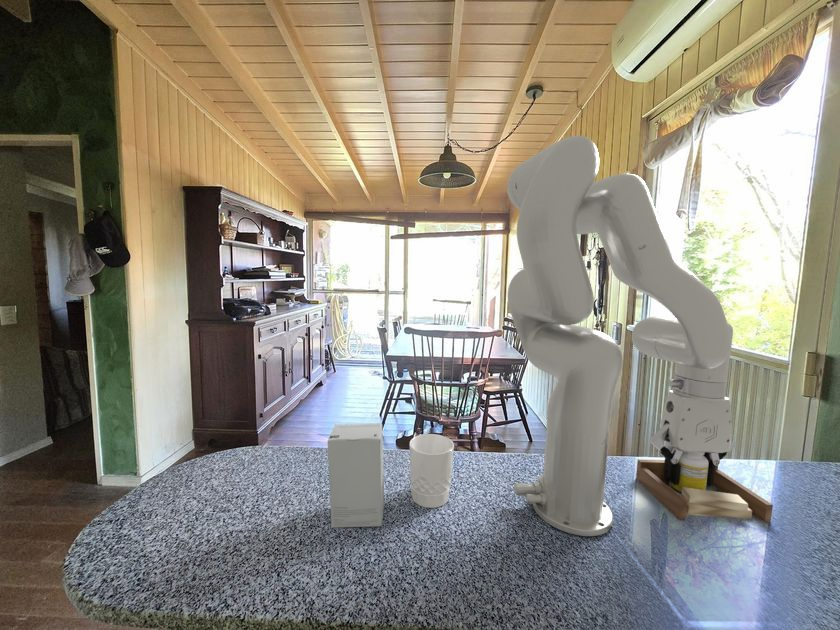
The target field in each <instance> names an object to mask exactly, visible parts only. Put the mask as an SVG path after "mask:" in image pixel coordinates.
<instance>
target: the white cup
mask: <svg viewBox="0 0 840 630" xmlns="http://www.w3.org/2000/svg"><path fill="white" fill-rule="evenodd" d="M408 445H409V446H408V447H409V471H410V478H409V479H410V490H411V492H410V493H411V498H412V500H413V502H414V503H416V505H418V506H420V507H423V508H426V509H428V508H430V509H433V508H434V509H436V508H440V507H443V506H444V505H445V504H447V503H448V502H449V499H450V498H449V497H450V487H451V483H452V475H453V464H454V463H453V462H454V451H455V450H454V449H455V443H454V441H453V440H452V439H450V438H449V437H447V436H444V435H442V434H441V435H440V434H434V433H426V434H419V435H416V436H414V437H412V438H411V439H410V441H409V444H408Z"/></svg>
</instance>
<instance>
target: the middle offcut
mask: <svg viewBox="0 0 840 630" xmlns="http://www.w3.org/2000/svg"><path fill="white" fill-rule="evenodd" d="M680 497H681V498H683V499H684V500H685V501H686V502H687V508H686V512H687V513H689V514H704V515H718V516H732V517H731V518H735V517H746V518H745V519H752V518H753V517H752V516H753V514H752V510H751V509H750V508H748V511H747V512H746V511H740V510H733V509H726V508H719V507H713V506H706V505H699V504H692V503H689V502H688V501H687V500H686V499H685V497H684V496H680ZM751 517H752V518H751Z"/></svg>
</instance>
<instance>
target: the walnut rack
mask: <svg viewBox="0 0 840 630" xmlns="http://www.w3.org/2000/svg"><path fill="white" fill-rule="evenodd" d="M664 463H665V459H637V463H636V464H637V465H636V473H635V474H636V476H635V480H636V481H637V482H638V483H639V484H640V485H641V486H642V487H643V488H645V490H646V491H648V493H650V494H651V495H652V496H653V497H654V498H656V500H657V501H658V502H659V503H660V504H661V505H662V506H664V508H666V509H667V510H668V511H669V512H670V513H671V514H672V515H673V516H674V517H675V518H676V519H677V520H678V521H686V518H687V517H686V516H687V515H686V508H687V502H686V501H685V500H684V499H683V498H681V497H680V496H679V495H678V494H677V493H675V492H674V491H673V490H672V489H671V488H670V487H669V485H667V484H669V483H670V481H669V480H668V479H667V478H665V477H664ZM718 468H719V465H717V466H716V465H715V472H714V480H713V486H712V487H714V488H715V489H717V490H718V491H719V492H722V493H729V494H736V495H739V496H740V497H741V498H742V499H743V500H744V501H745V502H746V503H747V504H748V508H750V509H751V510H752V516H755V518H758V520H760V521H761V522H763V523H765V524H766V523H768V524H771V523H772V514H773V507H774V505H773V503H771V502H769V501H767V500H766V499H765V498H764V497H762V496H760V495H758V494H757V493H755V492H754V491H752V490H751V489H749V488H747V487H746V486H744V485H743V484H741V483H740V482H738V481H737V480H736V479H734V478H733V477H731V476H729V475H728V474H726V473H725V472H723V471H721V470H720V469H718Z"/></svg>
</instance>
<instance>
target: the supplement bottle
mask: <svg viewBox="0 0 840 630" xmlns="http://www.w3.org/2000/svg"><path fill="white" fill-rule="evenodd" d="M704 454H705V452H684V451H683V453H682V455H681V457H680V459H679V461H678V463H679V464H680V465H681V471H680V479H679V484H678V485H674V484H673V483H672V482H670V483H668V484H669V485H668V487H670V488H671V489H672V490H673V491H674V492H675V493H677V494H678V495H679V496H683V495H682V487H686V488H693V489H701V490H707V485H706V482H707V473H708V464H709V462H708V460H707V458H706V457H704V456H703V455H704Z"/></svg>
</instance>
